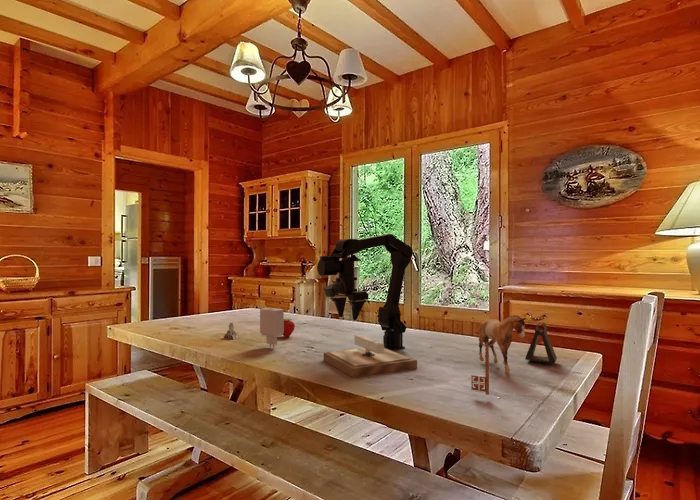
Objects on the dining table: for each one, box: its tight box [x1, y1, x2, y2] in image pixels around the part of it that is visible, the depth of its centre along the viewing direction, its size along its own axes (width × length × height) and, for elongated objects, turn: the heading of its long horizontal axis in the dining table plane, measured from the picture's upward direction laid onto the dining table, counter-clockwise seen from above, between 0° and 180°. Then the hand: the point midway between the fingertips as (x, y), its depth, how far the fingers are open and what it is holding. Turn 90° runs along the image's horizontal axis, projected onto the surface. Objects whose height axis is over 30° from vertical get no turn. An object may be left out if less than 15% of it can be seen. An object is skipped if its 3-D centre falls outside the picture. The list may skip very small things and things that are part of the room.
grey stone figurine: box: [224, 322, 240, 340], centre depth 172 cm, size 9×9×8 cm
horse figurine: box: [478, 314, 528, 376], centre depth 129 cm, size 26×6×17 cm, turn 5°
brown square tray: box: [323, 347, 418, 379], centre depth 132 cm, size 22×22×3 cm
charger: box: [259, 307, 285, 349], centre depth 154 cm, size 5×9×15 cm, turn 52°
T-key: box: [353, 334, 384, 354], centre depth 132 cm, size 16×2×5 cm, turn 26°
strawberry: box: [282, 315, 296, 338], centre depth 174 cm, size 6×8×10 cm
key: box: [470, 334, 496, 396], centre depth 103 cm, size 6×1×15 cm, turn 63°
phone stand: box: [524, 322, 558, 364], centre depth 138 cm, size 9×6×12 cm, turn 58°
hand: (347, 318), depth 145 cm, fingers open, 9 cm apart
